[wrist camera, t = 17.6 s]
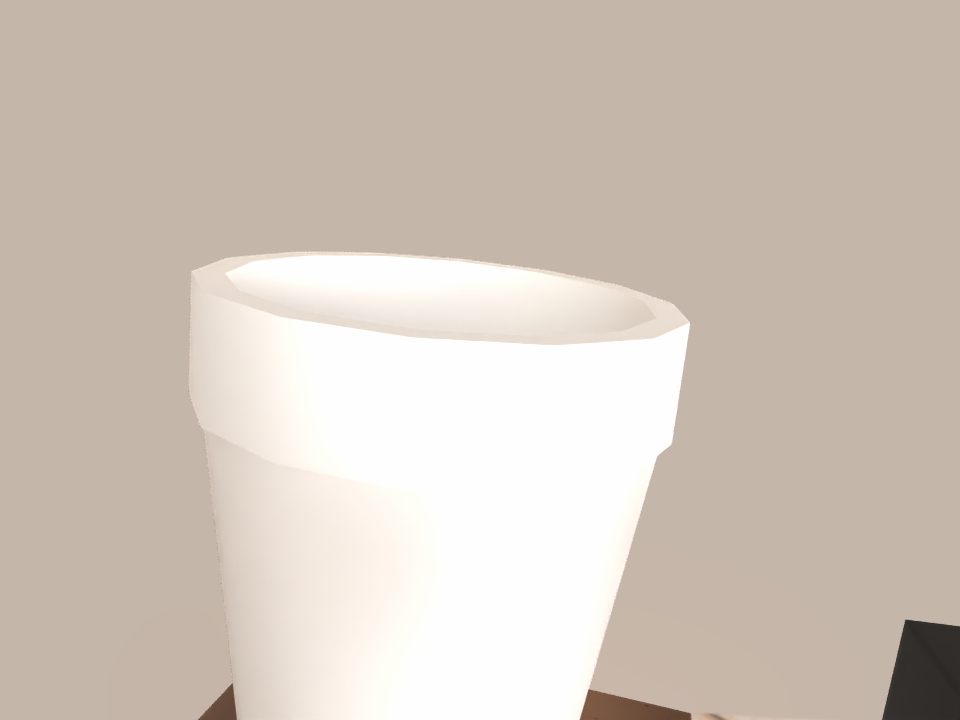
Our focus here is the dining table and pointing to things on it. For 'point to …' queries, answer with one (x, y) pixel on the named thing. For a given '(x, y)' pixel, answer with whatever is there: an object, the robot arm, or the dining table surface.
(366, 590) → the foam cup
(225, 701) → the shelf
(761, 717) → the dining table surface
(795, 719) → the dining table surface
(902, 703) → the robot arm
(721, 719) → the dining table surface
